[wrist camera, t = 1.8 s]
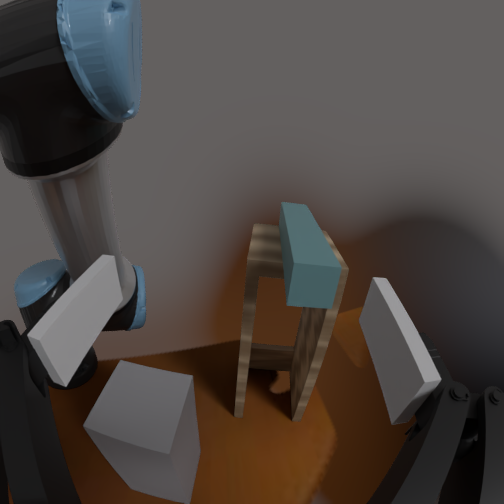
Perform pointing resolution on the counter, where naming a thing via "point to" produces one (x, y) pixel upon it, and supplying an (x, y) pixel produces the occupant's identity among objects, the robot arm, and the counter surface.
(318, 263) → the teal block
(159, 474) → the stone block
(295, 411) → the wooden stool frame
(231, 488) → the counter surface
